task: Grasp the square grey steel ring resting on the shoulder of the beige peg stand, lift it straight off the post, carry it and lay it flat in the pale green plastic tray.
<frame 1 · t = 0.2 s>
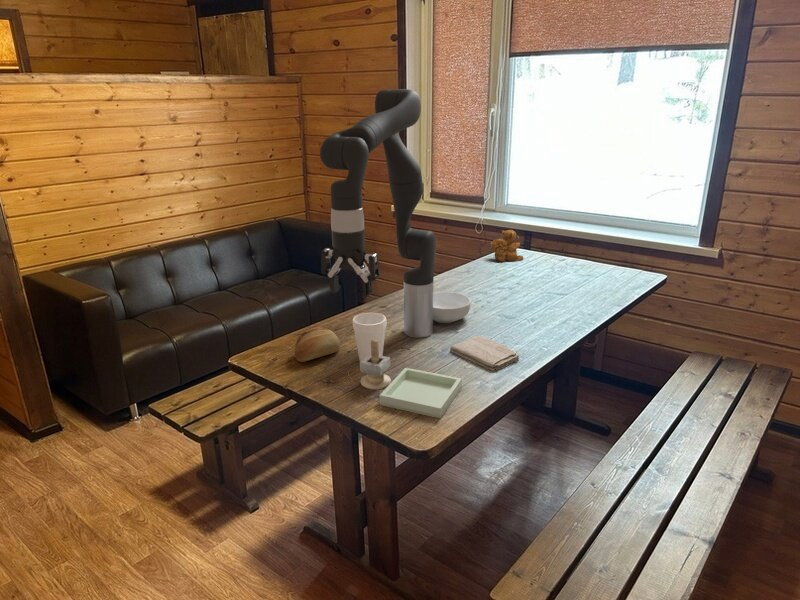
hand: (351, 293, 138), 28 cm above the table, tool pointing down, fingers open, 8 cm apart
foam cup: (370, 361, 167), on the table
bread roll: (317, 356, 170), on the table
cereal bowl: (445, 319, 196), on the table
stuffed squirrel: (505, 260, 260), on the table
washcloth: (484, 357, 170), on the table
beige peg stand: (375, 382, 155), on the table
tray: (421, 396, 148), on the table
ring: (375, 368, 153), point 4 cm above the table, touching beige peg stand
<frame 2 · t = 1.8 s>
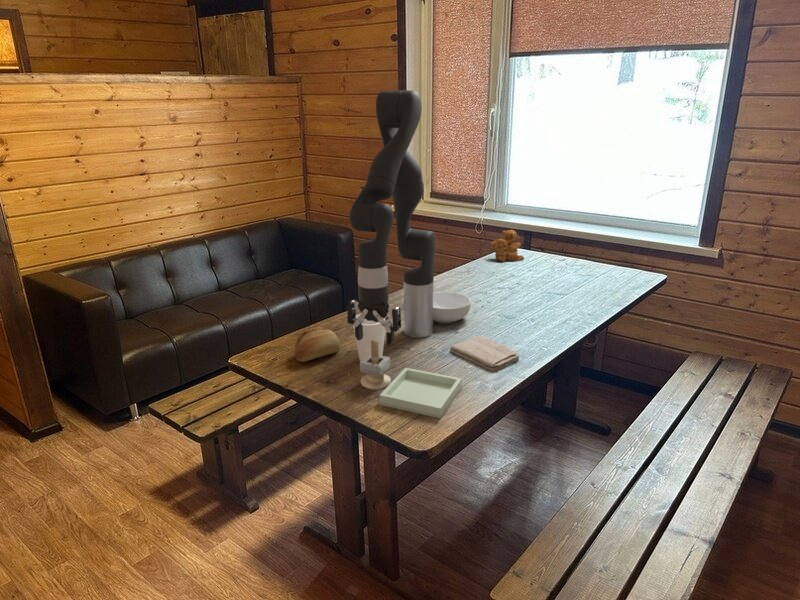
hand: (374, 341, 150), 12 cm above the table, tool pointing down, fingers open, 8 cm apart
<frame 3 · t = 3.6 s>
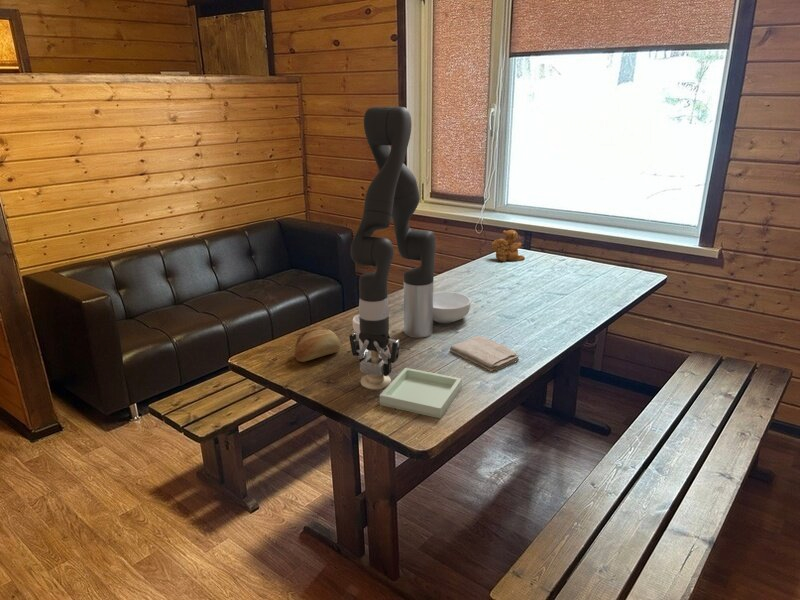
hand: (375, 372, 154), 3 cm above the table, tool pointing down, fingers closed on ring, 6 cm apart
ring: (375, 368, 153), point 4 cm above the table, touching gripper, beige peg stand
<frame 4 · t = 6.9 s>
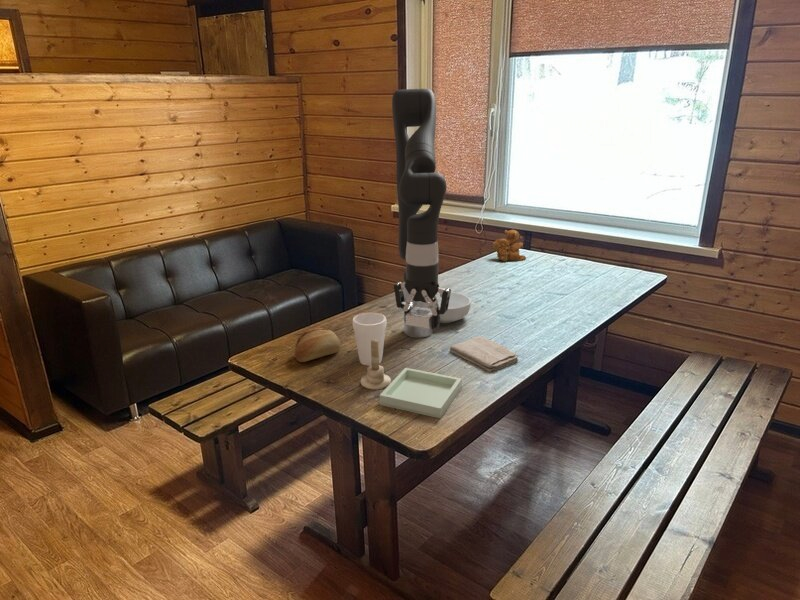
hand: (421, 326, 141), 19 cm above the table, tool pointing down, fingers closed on ring, 6 cm apart
ring: (421, 322, 140), point 20 cm above the table, touching gripper
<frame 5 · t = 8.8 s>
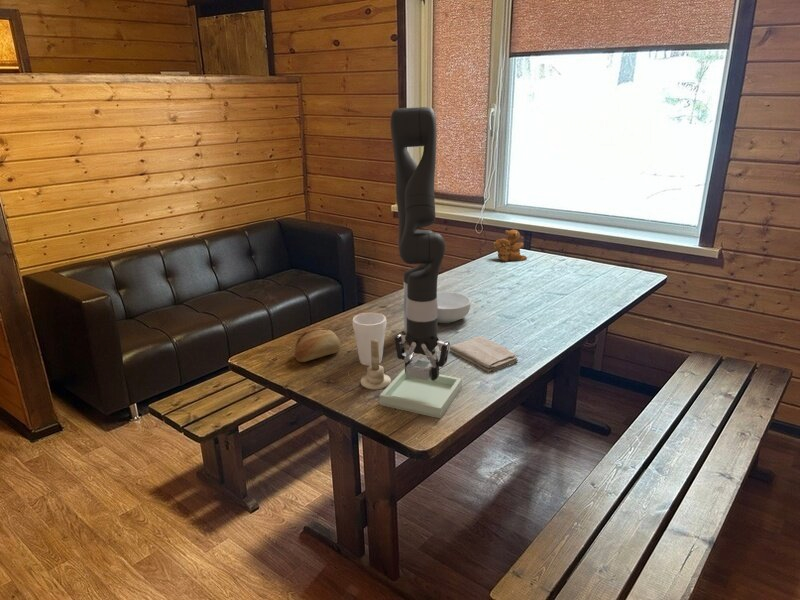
hand: (421, 376, 146), 6 cm above the table, tool pointing down, fingers closed on ring, 6 cm apart
ring: (421, 372, 145), point 7 cm above the table, touching gripper
when the fingers open (2 cm above the table, at t = 10.4 s): ring drops 2 cm, resting on tray.
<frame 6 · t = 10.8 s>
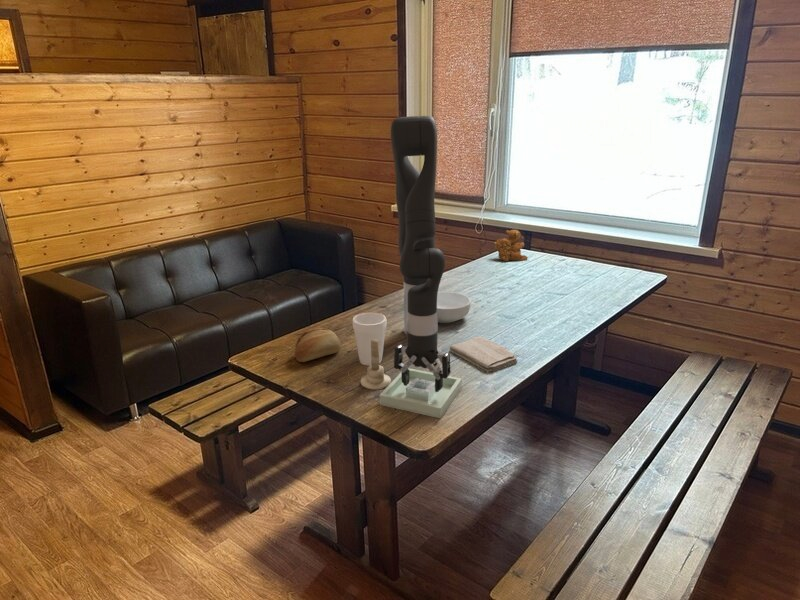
hand: (421, 387, 147), 2 cm above the table, tool pointing down, fingers open, 8 cm apart
ring: (421, 393, 147), point 1 cm above the table, touching tray
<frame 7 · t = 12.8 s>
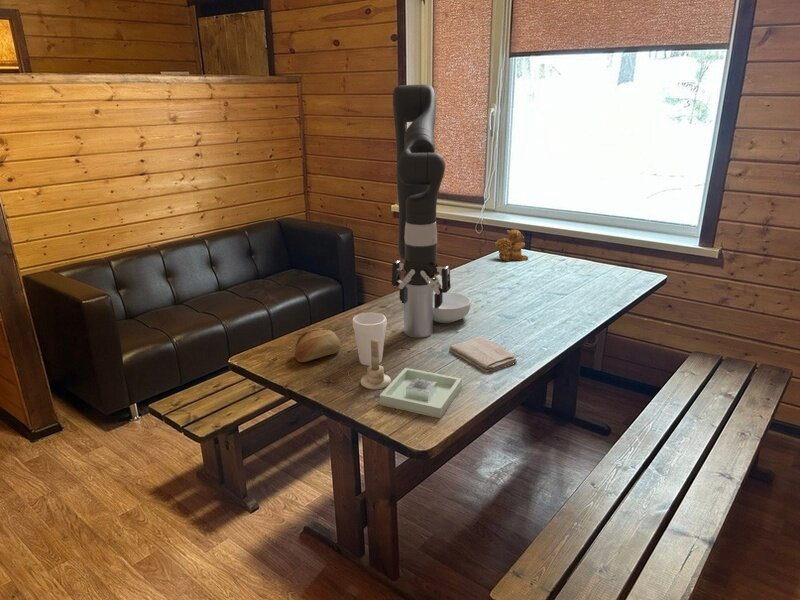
hand: (420, 304, 141), 24 cm above the table, tool pointing down, fingers open, 8 cm apart
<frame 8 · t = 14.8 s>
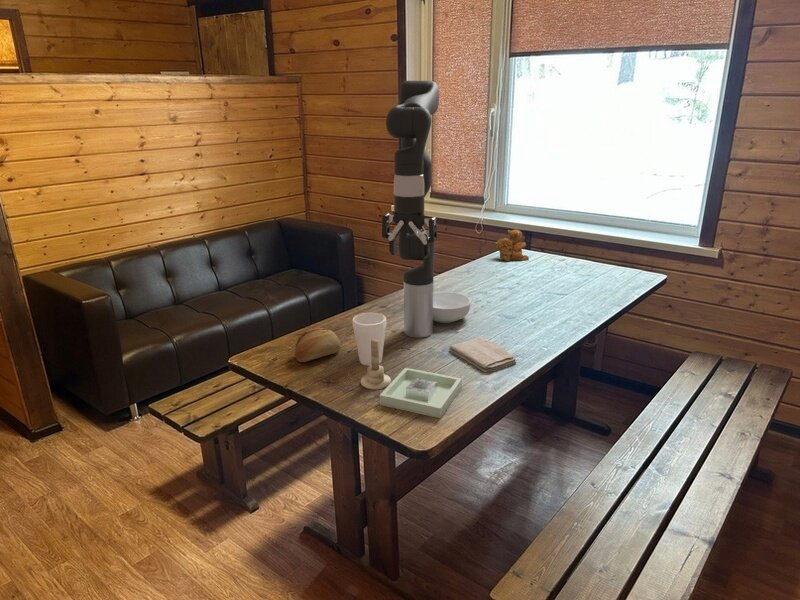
hand: (409, 256, 148), 33 cm above the table, tool pointing down, fingers open, 8 cm apart
at the end: ring inside the target area on the tray (0.1 cm from its centre), point 0.6 cm above the tray's base; ring tilted 0°; the gripper is holding nothing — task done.
